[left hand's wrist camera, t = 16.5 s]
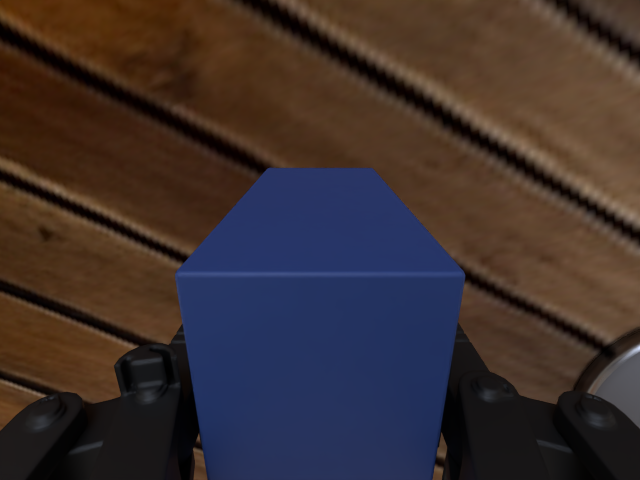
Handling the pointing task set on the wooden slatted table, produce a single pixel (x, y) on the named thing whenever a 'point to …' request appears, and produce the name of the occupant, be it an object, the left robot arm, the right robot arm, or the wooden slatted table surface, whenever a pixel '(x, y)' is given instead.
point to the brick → (320, 332)
